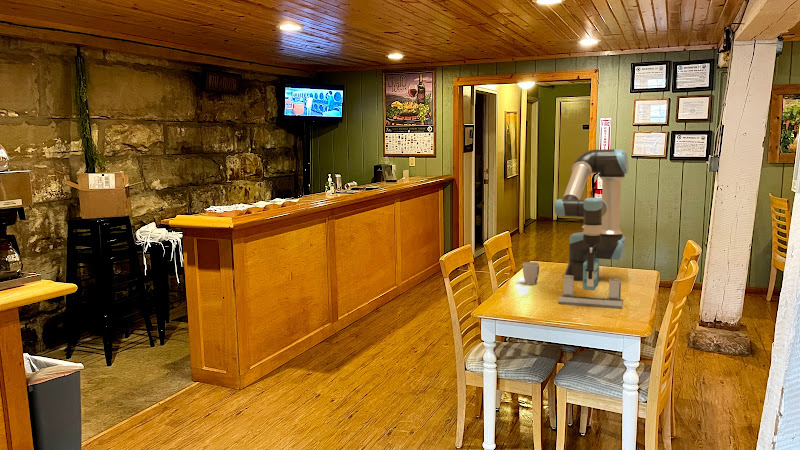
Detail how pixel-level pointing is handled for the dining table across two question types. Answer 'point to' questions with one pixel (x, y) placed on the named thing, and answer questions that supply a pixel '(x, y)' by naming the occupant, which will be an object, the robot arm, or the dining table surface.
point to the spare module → (619, 290)
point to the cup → (531, 272)
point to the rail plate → (586, 301)
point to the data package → (596, 275)
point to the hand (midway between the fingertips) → (591, 282)
